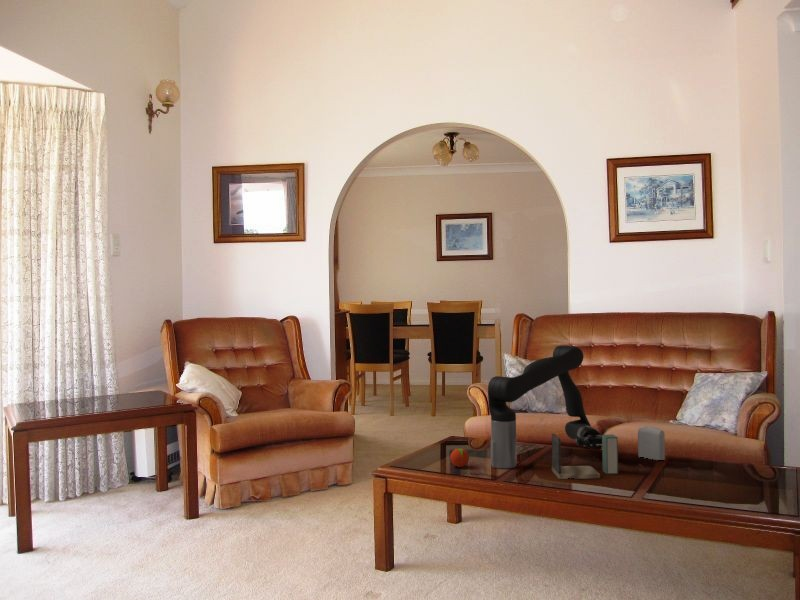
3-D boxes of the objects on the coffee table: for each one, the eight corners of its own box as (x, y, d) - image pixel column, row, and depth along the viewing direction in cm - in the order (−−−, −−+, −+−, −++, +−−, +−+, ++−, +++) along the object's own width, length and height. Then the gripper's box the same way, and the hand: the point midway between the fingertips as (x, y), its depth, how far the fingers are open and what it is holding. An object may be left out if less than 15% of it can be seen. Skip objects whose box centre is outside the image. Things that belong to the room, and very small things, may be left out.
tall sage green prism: (607, 474, 244) (606, 437, 244) (602, 470, 249) (602, 434, 249) (618, 474, 244) (617, 437, 244) (613, 470, 249) (613, 434, 249)
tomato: (471, 469, 255) (471, 449, 255) (453, 470, 253) (453, 450, 253) (466, 464, 262) (466, 445, 262) (448, 465, 261) (448, 446, 261)
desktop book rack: (559, 478, 239) (558, 439, 239) (551, 470, 251) (551, 433, 251) (600, 478, 239) (599, 439, 239) (590, 469, 251) (589, 432, 251)
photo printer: (636, 457, 269) (635, 425, 270) (642, 455, 272) (642, 424, 272) (660, 462, 262) (660, 429, 262) (666, 460, 264) (666, 427, 264)
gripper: (570, 427, 275) (581, 435, 259) (606, 426, 275) (619, 434, 259) (571, 446, 275) (581, 455, 259) (606, 445, 275) (620, 454, 259)
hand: (600, 444), depth 259 cm, fingers open, 8 cm apart
